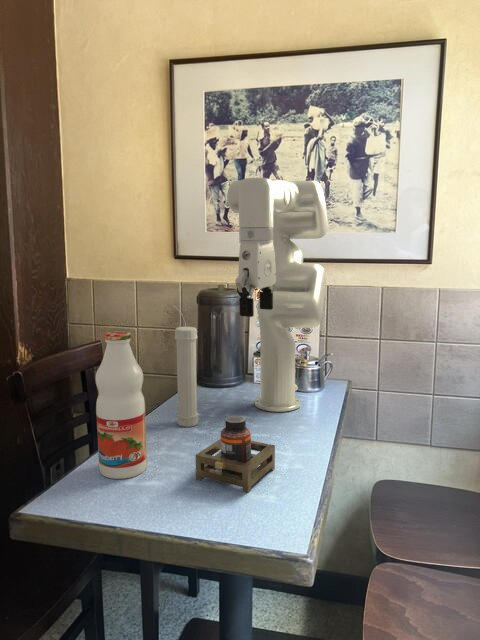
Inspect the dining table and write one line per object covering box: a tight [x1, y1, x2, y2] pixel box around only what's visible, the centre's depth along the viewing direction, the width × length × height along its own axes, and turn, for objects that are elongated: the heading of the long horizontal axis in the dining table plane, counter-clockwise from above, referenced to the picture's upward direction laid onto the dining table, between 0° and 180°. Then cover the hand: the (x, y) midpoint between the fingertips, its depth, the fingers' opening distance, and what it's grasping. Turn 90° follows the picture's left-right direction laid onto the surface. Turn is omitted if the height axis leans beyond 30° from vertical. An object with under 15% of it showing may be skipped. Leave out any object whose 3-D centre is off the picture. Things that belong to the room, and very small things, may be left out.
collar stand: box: [195, 438, 276, 494], centre depth 103 cm, size 12×11×5 cm
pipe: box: [171, 304, 200, 428], centre depth 130 cm, size 6×6×30 cm
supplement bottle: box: [220, 415, 252, 477], centre depth 103 cm, size 6×6×11 cm
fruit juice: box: [95, 330, 148, 480], centre depth 104 cm, size 9×9×28 cm
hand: (256, 312), depth 119 cm, fingers open, 9 cm apart
